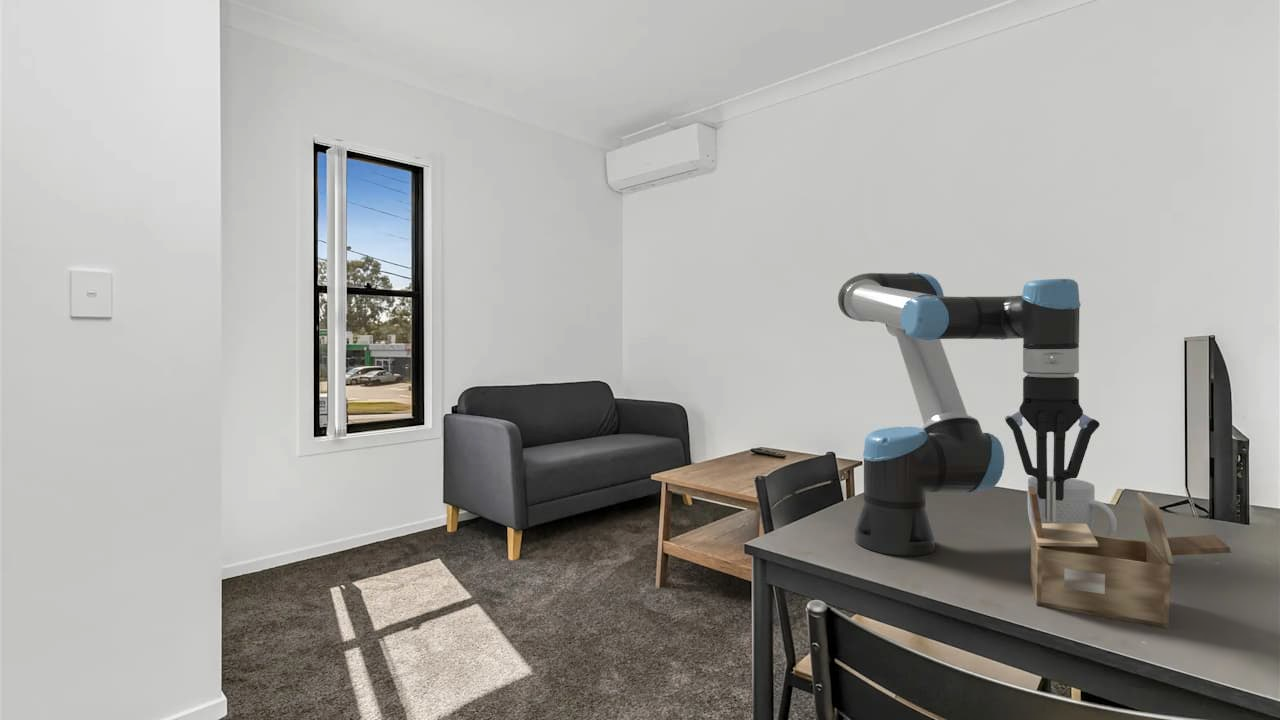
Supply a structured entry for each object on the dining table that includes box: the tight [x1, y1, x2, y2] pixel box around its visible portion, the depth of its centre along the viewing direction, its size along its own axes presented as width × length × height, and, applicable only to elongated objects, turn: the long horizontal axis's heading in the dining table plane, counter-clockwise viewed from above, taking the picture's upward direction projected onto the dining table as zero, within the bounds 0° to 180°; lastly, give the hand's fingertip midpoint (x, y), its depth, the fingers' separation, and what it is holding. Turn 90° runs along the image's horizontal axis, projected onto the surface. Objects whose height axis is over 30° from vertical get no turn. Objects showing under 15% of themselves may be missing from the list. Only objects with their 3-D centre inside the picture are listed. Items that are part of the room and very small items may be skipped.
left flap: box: [1027, 485, 1099, 547], centre depth 98 cm, size 8×11×8 cm
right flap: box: [1137, 492, 1232, 565], centre depth 91 cm, size 8×11×8 cm
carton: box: [1029, 527, 1171, 629], centre depth 96 cm, size 16×12×9 cm
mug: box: [1027, 475, 1118, 538], centre depth 120 cm, size 15×11×13 cm
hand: (1050, 518), depth 99 cm, fingers closed
